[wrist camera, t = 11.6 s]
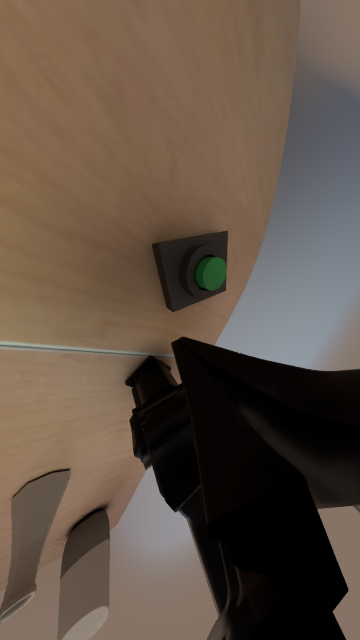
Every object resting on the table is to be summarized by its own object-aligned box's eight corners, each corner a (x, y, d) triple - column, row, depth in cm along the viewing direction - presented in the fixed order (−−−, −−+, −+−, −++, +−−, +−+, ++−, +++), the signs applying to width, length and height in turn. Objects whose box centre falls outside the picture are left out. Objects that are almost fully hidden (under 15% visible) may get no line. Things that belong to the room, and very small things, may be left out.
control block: (217, 232, 20) (238, 228, 17) (217, 288, 25) (234, 292, 22) (151, 244, 16) (164, 241, 13) (166, 307, 21) (178, 316, 18)
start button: (217, 254, 17) (227, 254, 16) (217, 283, 19) (226, 285, 18) (193, 260, 16) (202, 261, 14) (196, 291, 18) (204, 294, 17)
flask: (61, 491, 25) (45, 597, 17) (3, 513, 20) (-54, 671, 13) (77, 463, 24) (68, 560, 16) (21, 480, 20) (-28, 625, 12)
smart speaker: (91, 506, 32) (88, 633, 21) (115, 502, 38) (122, 600, 27) (54, 542, 30) (29, 703, 19) (85, 532, 36) (79, 652, 25)
